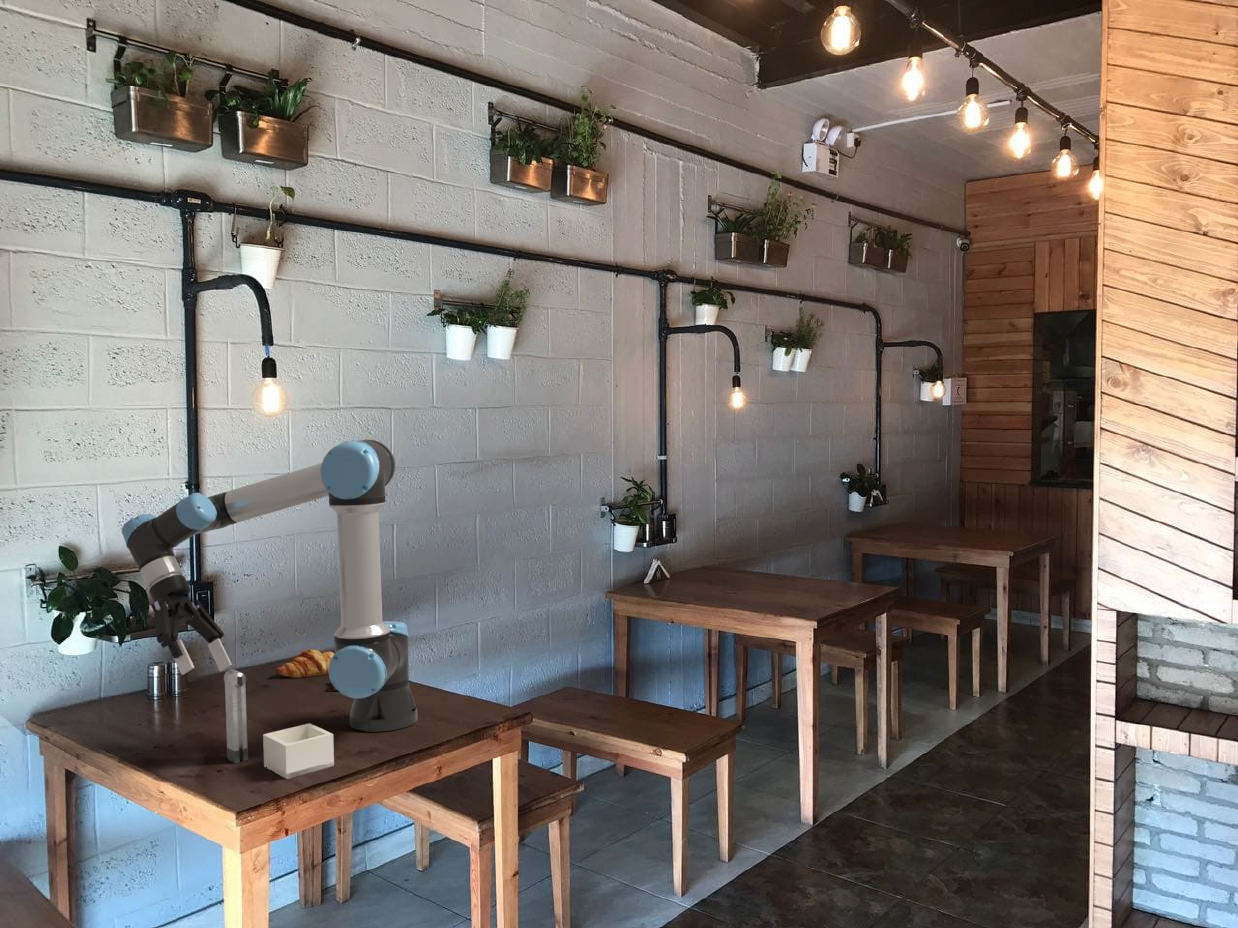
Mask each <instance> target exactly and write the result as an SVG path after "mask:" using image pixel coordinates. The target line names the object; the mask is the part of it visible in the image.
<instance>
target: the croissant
mask: <svg viewBox="0 0 1238 928" xmlns="http://www.w3.org/2000/svg"><path fill="white" fill-rule="evenodd" d="M334 654H335V652H333V651H323V653H322V652H321V651H319V650H318V649H307V650H303V651H302V652H300V653H299V654H298V656H295V657H293V658H292V659H291V660H290V662H286V663H284V664H282V665H281V666H279V667H276V673H277V674H279V675H280V676H282V677H283V676H284V677H290V678H297V679H299V678H311V677H312V678H313V677H316V676H323V675H329V671H328V670H329V664H330V661H331V658H332V657H333V655H334Z"/></svg>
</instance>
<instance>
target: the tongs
mask: <svg viewBox="0 0 1238 928" xmlns="http://www.w3.org/2000/svg"><path fill="white" fill-rule="evenodd" d="M223 681H224V693H225V694H224V695H225V698H224V699H225V722H226V723H225V724H226V725H225V726H226V727H225V728H226V729H225V730H226V759H227V760H229V761H230V762H232V763H234V764H237V763H240V762H241V761H243V762H245V761H249V748H248V730H247V729H248V726H247V725H248V724H247V723H248V722H247V695H246V694H247V693H246V691H247V690H246V682H247V676H246V675H245V674H244V673H243V672H240V671H238V670H236V669H228V670H227V671H226V672H225V673H224V675H223ZM240 760H241V761H240Z"/></svg>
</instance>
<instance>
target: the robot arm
mask: <svg viewBox="0 0 1238 928" xmlns="http://www.w3.org/2000/svg"><path fill="white" fill-rule="evenodd" d="M395 472H396V459H395V456H394V454H393V453H392V451H391V449H390V448H389V447H387V446H386V445H385V444H383V443H382V442H380V441H378V440H374V439H362V440H354V439H353V440H350V441H344V442H341V443H339V444H337V445H335V446H334V447H332V448H330V450H328V452H327V453H326V454H325V456H324V458H322V462H321V463H318V464H315V465H311V466H308V467H304V468H301V469H298V470H295V471H291V472H287V473H284V474H281V475H278V476H274V477H271V478H267V479H264V480H261V481H258V482H254V483H251V484H248V485H245V486H241V487H238V488H234V489H231V490H228V491H224V492H221V493H218V494H214V495H212V496H207V495H205V494H202V493H200V492H194V493H191V494H189V495H188V496H186V497H183V498H182V499H180V500H179V501H178V502H177V503H175V504H174V505H172V506H171V507H169V508H168V509H166V510H165V511H163V512H162V513H161V514H159V515H158V516H155V515H154V514H152V513H151V514H150V513H144V514H141V515H137V516H136V517H132V518H130V519H129V520H127V521H126V522H125V523H124V524H123V526H122V528H121V534H122V536H123V538H124V542H125V545H126V548H127V549H128V551H129V552H130V555H131V556H132V558H133V560H134V563H135V565H136V566H137V568H138V571H139V573H140V575H141V578H142V582H143V583H144V584H145V586H146V588H147V589H149V590H148V592H149V595H150V597H151V599H152V601H153V603H152V604H151V609H152V611H153V616H154V625H155V634H156V635H155V636H156V642H157V643H159V644H160V646H161V648H163V649H164V648H166V647H167V648H168V650H169V652H170V653H171V656H172V657H173V660H174V662H175V664H176V666H177V668H178V670H179V672H180V675H186V674H187V673H188V672H190V671H192V670H193V669H195V667H196V666H195V665H194V663H193V660H192V659H191V656H190V654H189V653H188V651H187V649H186V646H185V645H184V643H183V640H182V639H178V638H179V631H180V623H184V624H185V625H186V626H190V627H192V629H194V631H196V632H197V633H198V635H200V636H201V637H202V638H203V639H204V640H205V641H206V642H207V643H208V644H207V647H208V649H209V652H210V654H211V656H212V658H213V660H214V661H215V664H216V666H217V668H218V670H219V672H223V671H225V670H227V669H228V668H229V667H231V666H233V664H232V662H231V659H230V657H229V656H228V653H227V651H226V649H225V647H224V645H223V643H222V640H221V639H222V638H223V637H225V633H224V632H223V630H221V628H220V627H219V625H218V624H217V623H216V622H215V620H214V619H213V618H212V617H211V616H210V615H209V613H208V612H207V611H206V610H205V608H204V607H203V605H202V603H201V602H200V600H199V599H195V600H194V601H191V600H190V598H189V597H188V596H189V594H190V592H191V587H190V585H189V583H188V581H187V579H186V577H185V576H184V575H183V573H184V572H183V570H182V568H181V566H180V564H179V562H178V560H177V559H176V557H175V554H174V552H173V549H174V548H176V547H178V546H179V545H180V544H182V543H183V542H185V541H187V540H188V539H190V538H192V537H193V536H195V535H199V534H203V533H206V532H211V531H214V530H219V529H224V528H226V527H228V526H231V525H232V526H233V525H235V524H237V523H241V522H245V521H247V520H248V521H249V520H252V519H255V518H258V517H262V516H264V515H269V514H271V513H275V512H279V511H282V510H286V509H289V508H292V507H296V506H298V505H299V506H300V505H302V504H306V503H309V502H312V501H316V500H319V499H322V498H323V499H324V498H326V497H328V506H329V507H330V508H331V509H332V510H333V511H334V512H335V513H336V521H337V522H336V524H337V526H336V527H337V528H336V529H337V546H338V547H337V548H338V549H337V550H338V551H337V553H338V570H339V571H338V574H339V575H338V576H339V578H338V579H339V601H340V603H339V604H340V622H341V623H340V626H339V627H338V628H337V629H336V631H335V632H333V633H334V635H333V636H334V655H333V657H332V658H331V661H330V664H329V670H328V671H329V673H328V676H329V680H330V682H331V685H332V684H333V686H334V687H335V688H336V689H337V690H338V691H337V692H339V693H340V694H341V695H343V696H344V697H348V698H351V699H353V702H352V704H351V705H352V706H351V708H350V713H349V726H350V727H351V728H353V729H354V730H356V731H361V732H362V731H363V732H370V733H371V732H374V733H375V732H378V733H379V732H390V731H395V730H396V731H397V730H401V729H403V728H404V729H405V728H406V727H410V726H411V725H414V724H415V723H416V722H417V721H418V706H417V704H416V701H415V699H414V696H413V693H412V691H411V687H410V675H409V674H410V673H409V671H410V670H409V669H410V668H409V637H410V635H409V632H408V626H407V624H406V623H404V622H403V621H394V620H393V621H391V620H390V621H389V620H388V621H386V620H385V621H384V620H383V600H382V598H383V597H382V594H383V593H382V570H381V569H382V568H381V548H380V547H381V543H380V541H381V540H380V517H379V516H380V515H379V514H380V513H379V512H380V510H381V509H382V508H383V507H384V505H385V504H386V486H388V484H389V483H390V482H392V480H393V477H394V475H395Z"/></svg>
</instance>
